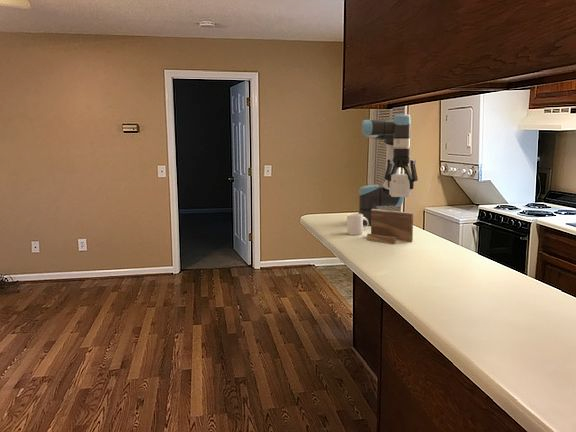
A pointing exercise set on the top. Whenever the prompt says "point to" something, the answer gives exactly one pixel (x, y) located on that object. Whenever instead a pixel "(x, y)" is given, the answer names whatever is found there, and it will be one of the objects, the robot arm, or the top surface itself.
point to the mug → (355, 224)
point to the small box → (399, 185)
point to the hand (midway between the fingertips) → (400, 195)
